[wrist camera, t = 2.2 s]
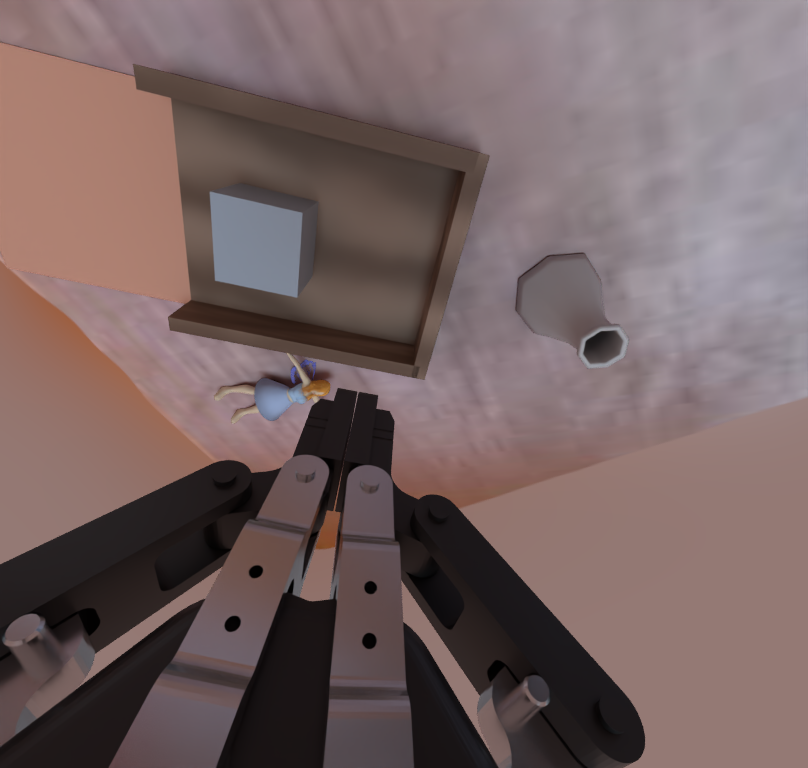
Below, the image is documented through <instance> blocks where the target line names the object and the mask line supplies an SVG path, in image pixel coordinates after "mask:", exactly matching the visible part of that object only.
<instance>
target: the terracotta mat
mask: <svg viewBox="0 0 808 768" xmlns="http://www.w3.org/2000/svg"><path fill="white" fill-rule="evenodd" d="M0 251H1V254H2V256H3V259H4V262H5V265H6V267H7V268H11V269H16V270H21V271H25V272H30V273H35V274H40V275H45V276H50V277H55V278H60V279H65V280H70V281H75V282H80V283H85V284H90V285H95V286H100V287H105V288H110V289H114V290H119V291H124V292H129V293H134V294H139V295H144V296H149V297H154V298H159V299H164V300H169V301H174V302H179V303H184V304H186V303H188V302H189V301H190V300H191V294H190V284H189V274H188V264H187V254H186V244H185V234H184V224H183V214H182V204H181V194H180V184H179V174H178V164H177V154H176V144H175V134H174V124H173V114H172V104H171V98H169V97H165V96H161V95H157V94H153V93H149V92H145V91H141V90H137V89H136V82H135V77H134V76H131V75H127V74H123V73H119V72H115V71H111V70H107V69H103V68H99V67H95V66H91V65H87V64H83V63H79V62H75V61H72V60H68V59H64V58H60V57H56V56H52V55H48V54H44V53H40V52H36V51H32V50H28V49H24V48H20V47H17V46H13V45H9V44H5V43H1V42H0Z"/></svg>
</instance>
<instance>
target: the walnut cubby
mask: <svg viewBox="0 0 808 768" xmlns="http://www.w3.org/2000/svg"><path fill="white" fill-rule="evenodd" d="M133 67H134V74H135V82H136V89H137V90H141V91H145V92H149V93H153V94H157V95H161V96H165V97H169V98H171V104H172V114H173V124H174V134H175V144H176V154H177V164H178V174H179V184H180V194H181V204H182V214H183V224H184V234H185V244H186V254H187V264H188V274H189V284H190V294H191V300H190V301H189V302H188V303H186V304H185V305H184V306H182V307H181V308H180V309H178V310H177V311H176V312H174V313H173V314H172V315H170V316H169V317H168V320H169V327H170V330H171V331H177V332H182V333H187V334H192V335H197V336H202V337H207V338H212V339H218V340H223V341H228V342H233V343H238V344H243V345H248V346H253V347H259V348H264V349H269V350H274V351H279V352H284V353H289V354H294V355H300V356H305V357H310V358H315V359H320V360H325V361H330V362H335V363H341V364H346V365H351V366H356V367H361V368H366V369H371V370H376V371H382V372H387V373H392V374H397V375H402V376H407V377H412V378H417V379H423V380H424V379H425V376H426V372H427V369H428V366H429V362H430V359H431V355H432V352H433V348H434V345H435V342H436V338H437V335H438V331H439V328H440V325H441V321H442V318H443V314H444V311H445V307H446V304H447V301H448V297H449V294H450V290H451V287H452V283H453V280H454V277H455V273H456V270H457V266H458V263H459V259H460V256H461V253H462V249H463V246H464V242H465V239H466V235H467V232H468V229H469V225H470V222H471V218H472V215H473V211H474V208H475V205H476V201H477V198H478V194H479V191H480V187H481V184H482V181H483V177H484V174H485V170H486V167H487V163H488V160H489V157H490V156H489V155H486V154H483V153H479V152H475V151H471V150H467V149H464V148H460V147H456V146H452V145H448V144H444V143H440V142H436V141H433V140H429V139H425V138H421V137H417V136H413V135H409V134H405V133H401V132H398V131H394V130H390V129H386V128H382V127H378V126H374V125H370V124H366V123H363V122H359V121H355V120H351V119H347V118H343V117H339V116H335V115H332V114H328V113H324V112H320V111H316V110H312V109H308V108H304V107H300V106H297V105H293V104H289V103H285V102H281V101H277V100H273V99H269V98H266V97H262V96H258V95H254V94H250V93H246V92H242V91H238V90H234V89H231V88H227V87H223V86H219V85H215V84H211V83H207V82H203V81H199V80H196V79H192V78H188V77H184V76H180V75H176V74H172V73H168V72H164V71H160V70H156V69H152V68H148V67H144V66H140V65H136V64H133ZM238 183H242V184H246V185H250V186H254V187H259V188H263V189H267V190H271V191H276V192H280V193H284V194H288V195H293V196H297V197H301V198H305V199H310V200H314V201H318V215H317V227H316V239H315V251H314V263H313V275H312V278H311V279H310V281H309V282H308V283H307V285H306V286H305V288H304V289H303V290H302V292H301V293H300V295H299V296H298V297H297V298H296V297H292V296H287V295H282V294H277V293H272V292H268V291H263V290H258V289H253V288H249V287H244V286H239V285H234V284H230V283H225V282H220V281H215V270H214V254H213V237H212V221H211V205H210V191H213V190H217V189H220V188H224V187H227V186H231V185H234V184H238Z"/></svg>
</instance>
